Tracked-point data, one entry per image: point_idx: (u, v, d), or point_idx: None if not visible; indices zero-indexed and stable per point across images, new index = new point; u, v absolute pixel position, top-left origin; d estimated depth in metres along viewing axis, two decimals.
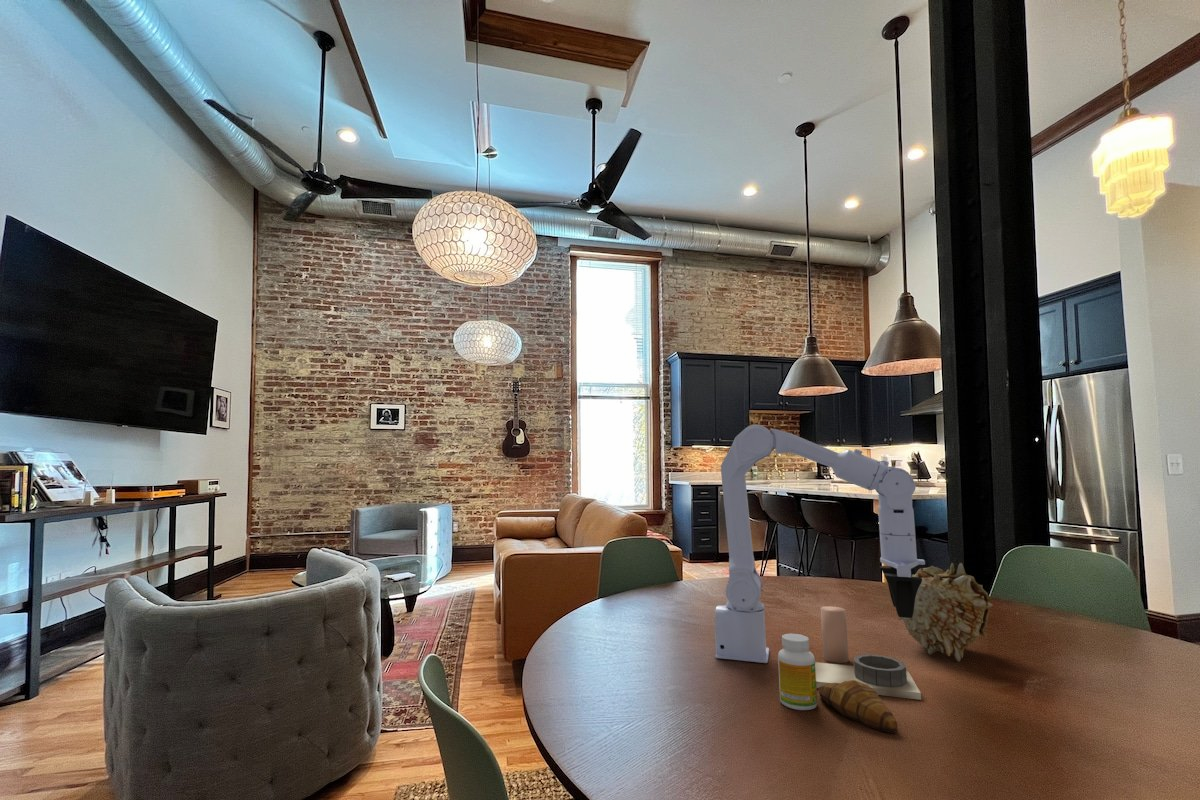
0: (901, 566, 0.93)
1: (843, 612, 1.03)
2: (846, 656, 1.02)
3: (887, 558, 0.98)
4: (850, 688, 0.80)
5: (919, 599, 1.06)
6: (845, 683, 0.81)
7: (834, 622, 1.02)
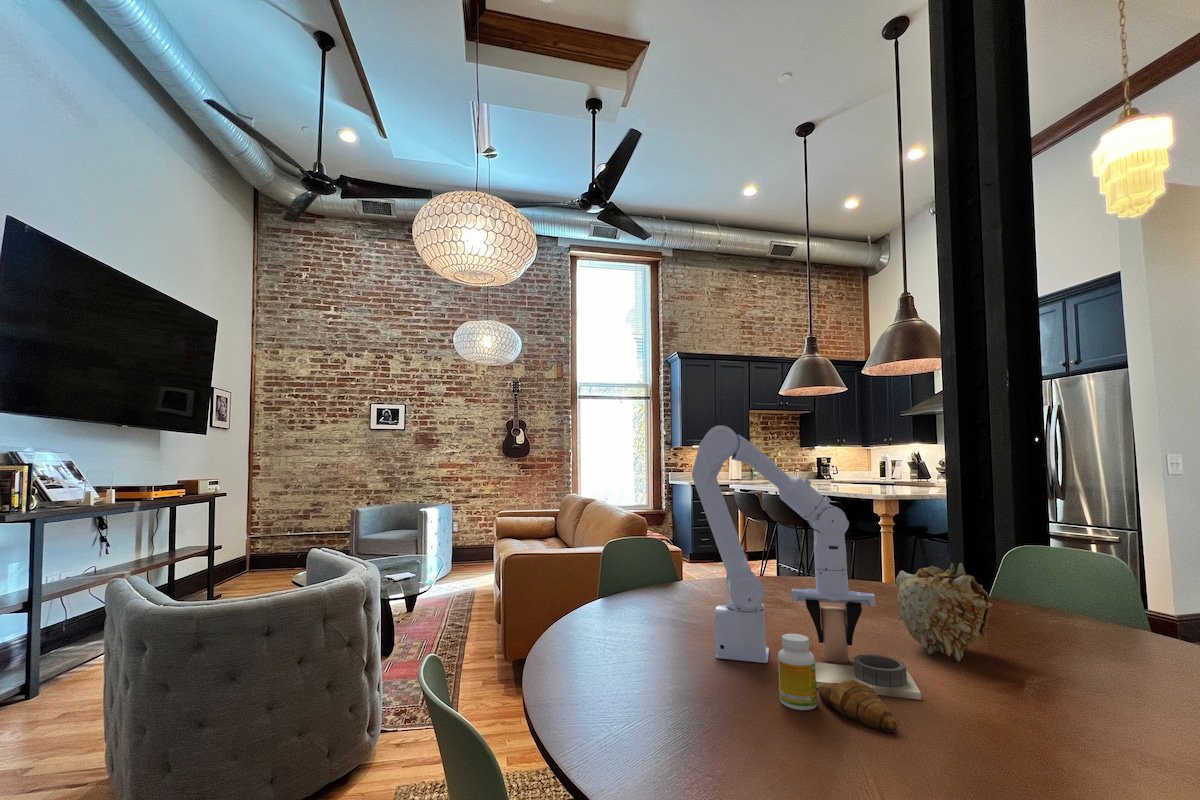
0: None
1: (843, 612, 1.03)
2: (846, 656, 1.02)
3: None
4: (849, 688, 0.80)
5: (919, 599, 1.06)
6: (844, 683, 0.81)
7: (834, 622, 1.02)
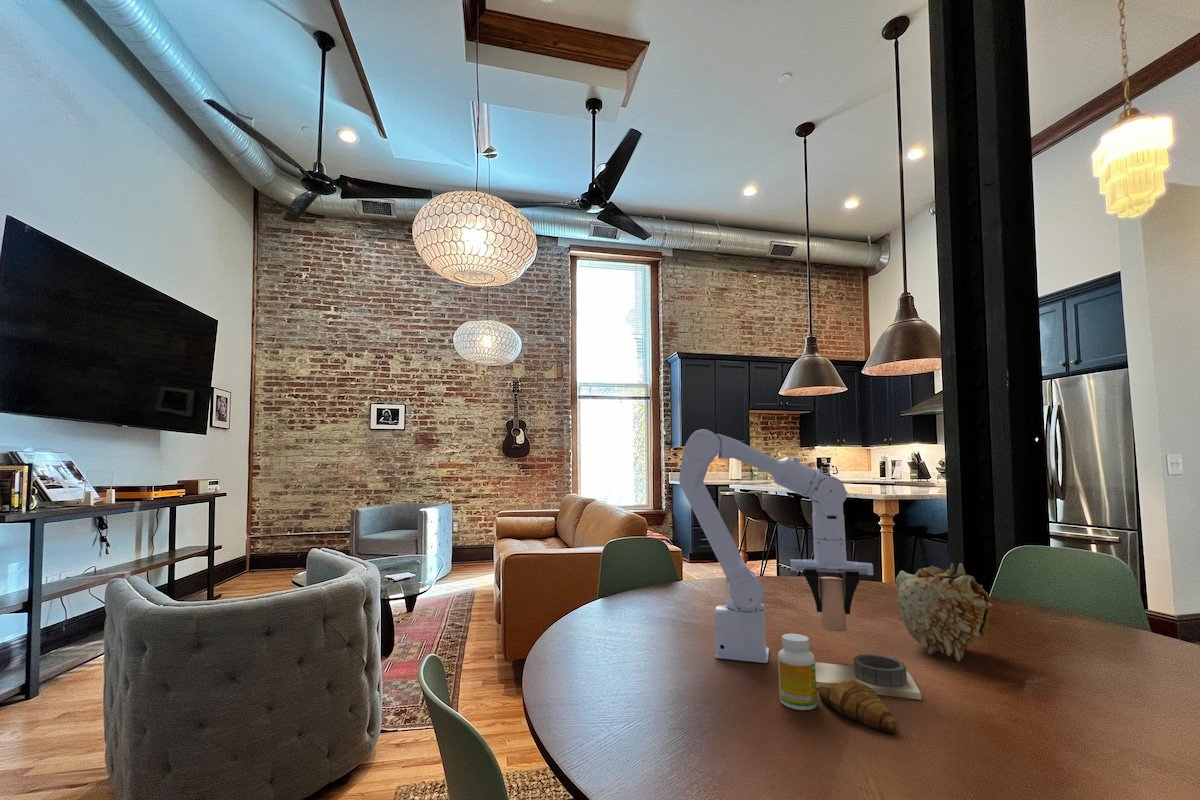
0: (790, 560, 1.08)
1: (841, 581, 1.03)
2: (844, 625, 1.02)
3: None
4: (849, 689, 0.80)
5: (919, 599, 1.06)
6: (844, 683, 0.81)
7: (832, 591, 1.03)
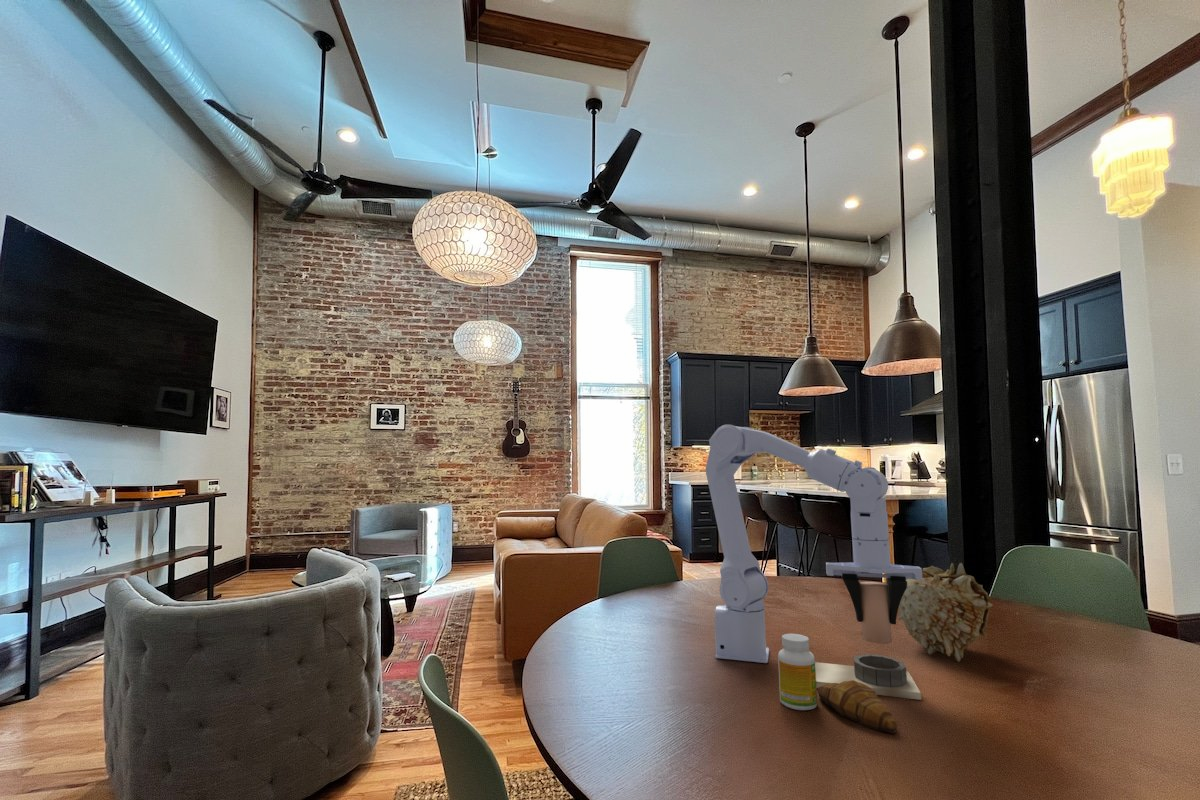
0: (826, 564, 0.96)
1: (885, 587, 0.92)
2: (889, 636, 0.91)
3: None
4: (849, 689, 0.80)
5: (919, 599, 1.06)
6: (844, 683, 0.81)
7: (876, 598, 0.91)
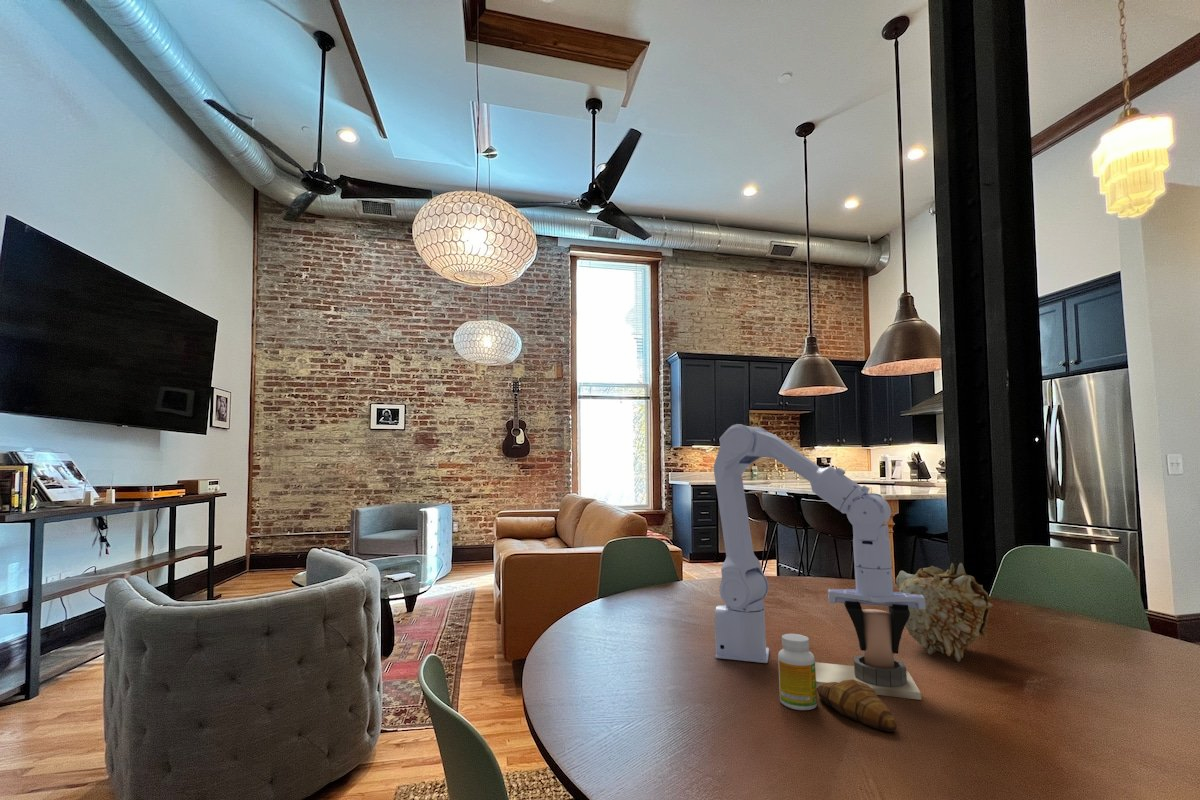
0: (828, 591, 0.95)
1: (888, 615, 0.91)
2: (892, 665, 0.90)
3: None
4: (848, 688, 0.80)
5: None
6: (844, 682, 0.81)
7: (879, 627, 0.90)
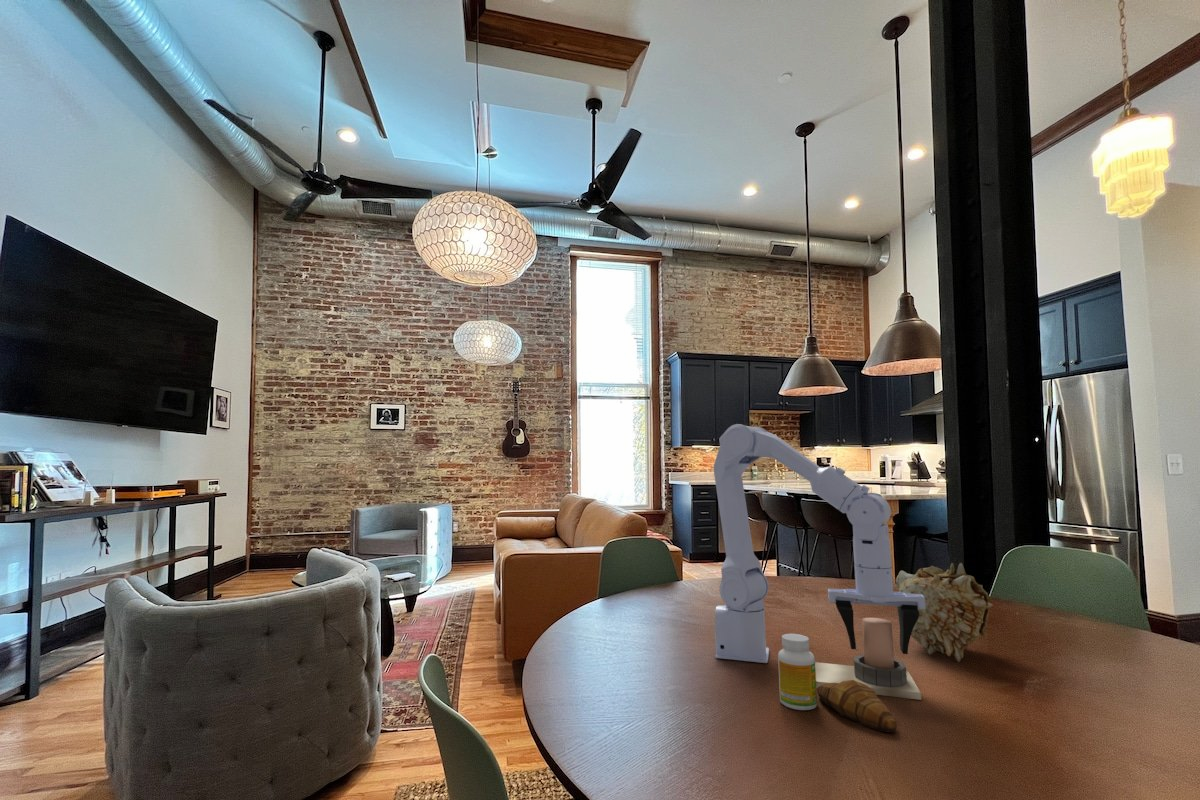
0: (828, 590, 0.95)
1: (889, 625, 0.91)
2: None
3: None
4: (848, 688, 0.80)
5: None
6: (844, 683, 0.81)
7: (880, 636, 0.90)
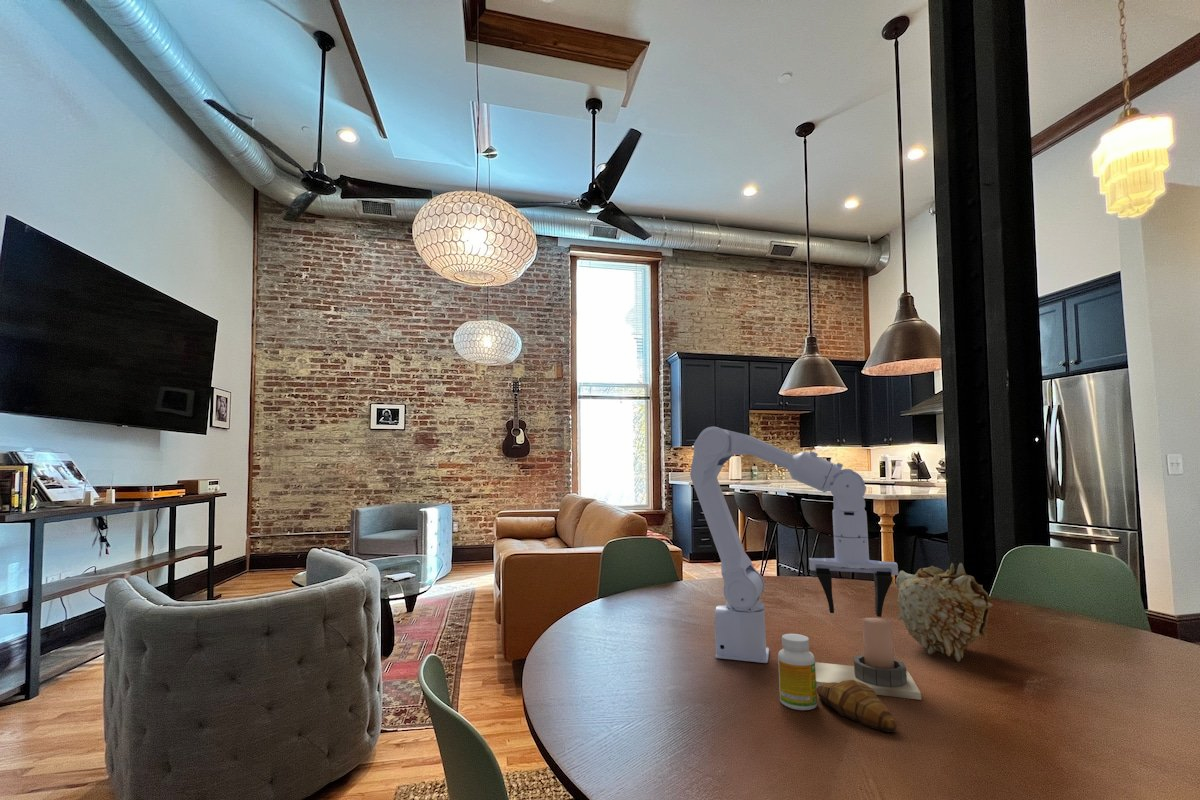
0: (809, 559, 1.02)
1: (889, 625, 0.91)
2: None
3: None
4: (848, 688, 0.80)
5: (919, 599, 1.06)
6: (843, 683, 0.81)
7: (880, 636, 0.90)
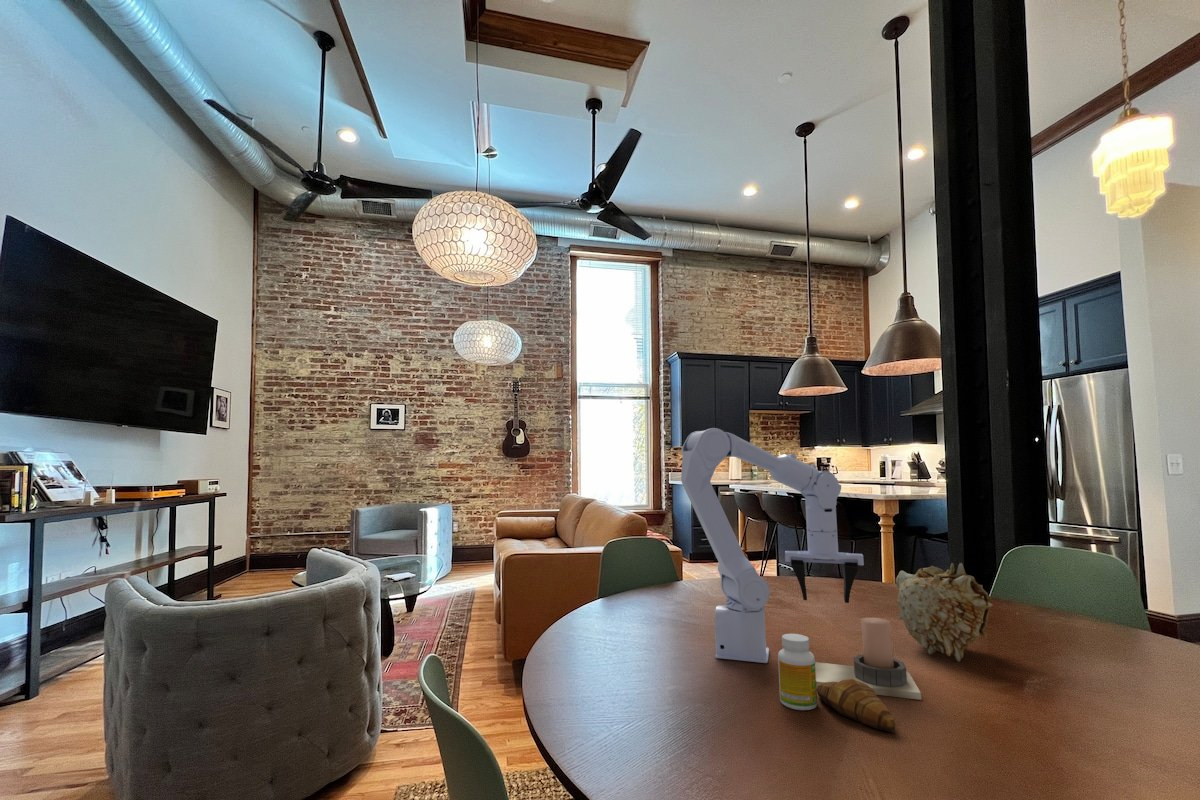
0: (785, 552, 1.13)
1: (888, 624, 0.91)
2: None
3: None
4: (848, 687, 0.80)
5: (919, 599, 1.06)
6: (843, 682, 0.81)
7: (878, 636, 0.90)
